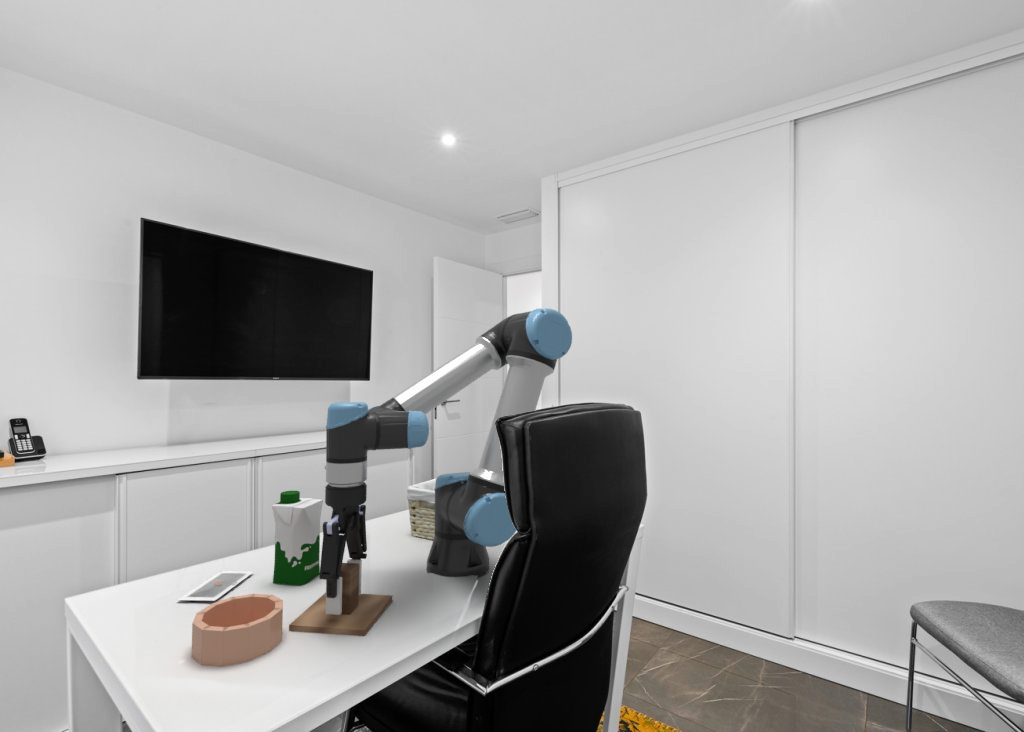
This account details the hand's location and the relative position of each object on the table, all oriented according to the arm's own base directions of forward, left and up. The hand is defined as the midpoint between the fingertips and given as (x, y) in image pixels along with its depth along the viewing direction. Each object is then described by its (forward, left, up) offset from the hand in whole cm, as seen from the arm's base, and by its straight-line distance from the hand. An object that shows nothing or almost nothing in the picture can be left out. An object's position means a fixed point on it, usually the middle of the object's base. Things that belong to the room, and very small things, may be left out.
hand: (344, 602), depth 95 cm
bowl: (+13, +12, -3) cm, 18 cm away
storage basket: (-7, -58, -4) cm, 58 cm away
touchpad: (+33, -10, -4) cm, 35 cm away
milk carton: (+18, -15, -3) cm, 24 cm away
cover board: (0, 0, -2) cm, 2 cm away
